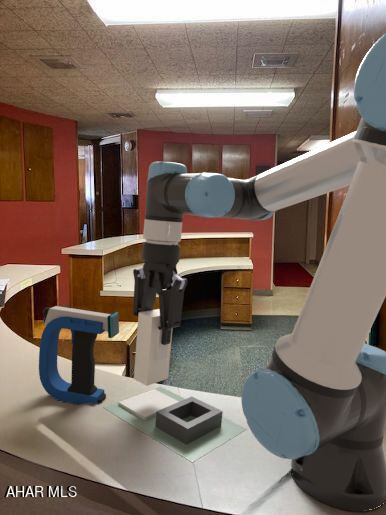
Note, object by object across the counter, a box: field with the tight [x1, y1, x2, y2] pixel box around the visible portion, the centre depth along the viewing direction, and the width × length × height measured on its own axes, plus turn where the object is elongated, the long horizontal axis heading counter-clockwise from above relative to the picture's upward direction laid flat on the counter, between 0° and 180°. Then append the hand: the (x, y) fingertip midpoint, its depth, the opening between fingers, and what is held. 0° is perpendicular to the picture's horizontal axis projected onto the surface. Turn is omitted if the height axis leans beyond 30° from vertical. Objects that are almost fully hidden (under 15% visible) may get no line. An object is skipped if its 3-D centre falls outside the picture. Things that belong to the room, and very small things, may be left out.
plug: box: [133, 308, 173, 387], centre depth 85 cm, size 4×6×14 cm, turn 138°
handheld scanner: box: [38, 305, 120, 406], centre depth 87 cm, size 5×16×20 cm, turn 79°
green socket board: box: [103, 386, 247, 463], centre depth 82 cm, size 24×16×4 cm, turn 48°
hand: (153, 355), depth 85 cm, fingers closed on plug, 4 cm apart
